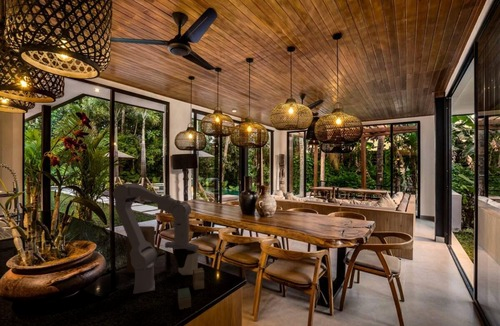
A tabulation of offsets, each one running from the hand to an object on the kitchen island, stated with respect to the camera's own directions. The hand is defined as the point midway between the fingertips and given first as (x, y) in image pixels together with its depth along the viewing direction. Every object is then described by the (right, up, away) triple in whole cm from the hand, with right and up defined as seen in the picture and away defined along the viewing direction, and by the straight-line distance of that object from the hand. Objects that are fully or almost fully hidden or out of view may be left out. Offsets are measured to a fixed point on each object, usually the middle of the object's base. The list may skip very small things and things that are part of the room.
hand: (181, 267), depth 102 cm
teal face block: (+2, -8, -5) cm, 10 cm away
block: (-26, -10, +22) cm, 35 cm away
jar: (-2, -10, +19) cm, 22 cm away
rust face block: (+6, -10, +4) cm, 12 cm away
